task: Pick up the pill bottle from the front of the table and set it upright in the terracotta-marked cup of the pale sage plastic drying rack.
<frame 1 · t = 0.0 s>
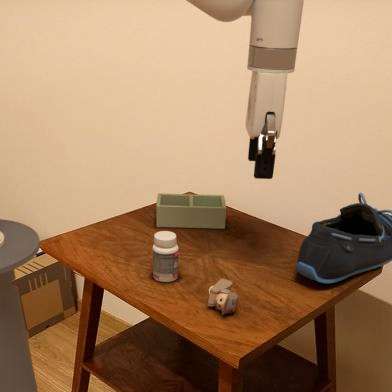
hand: (259, 169, 91), 19 cm above the table, tool pointing down, fingers open, 9 cm apart
toy character: (204, 292, 88), point 2 cm above the table
rack: (190, 220, 118), on the table
pill bottle: (165, 277, 97), on the table
moccasin: (347, 259, 105), on the table
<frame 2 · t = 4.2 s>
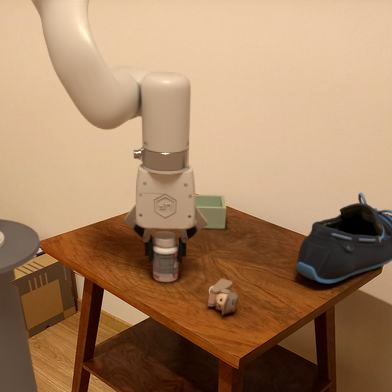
hand: (165, 258, 94), 4 cm above the table, tool pointing down, fingers closed on pill bottle, 4 cm apart
pill bottle: (165, 277, 97), on the table, touching gripper
everything else where it was.
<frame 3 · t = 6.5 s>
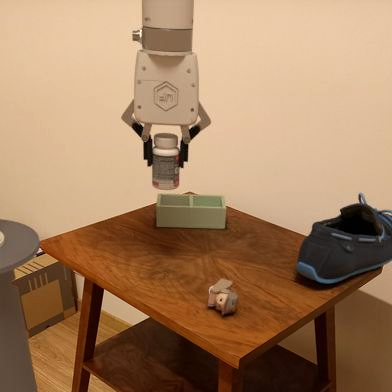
hand: (165, 163, 87), 20 cm above the table, tool pointing down, fingers closed on pill bottle, 4 cm apart
pill bottle: (165, 187, 90), point 16 cm above the table, touching gripper
everything else where it was.
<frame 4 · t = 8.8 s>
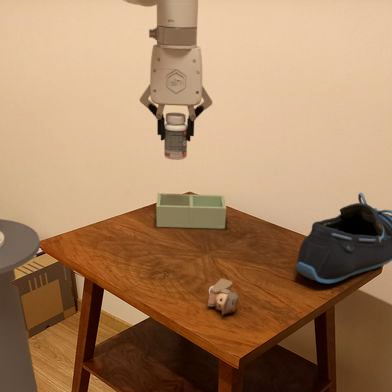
hand: (175, 138, 107), 18 cm above the table, tool pointing down, fingers closed on pill bottle, 4 cm apart
pill bottle: (175, 157, 109), point 14 cm above the table, touching gripper
everything else where it was.
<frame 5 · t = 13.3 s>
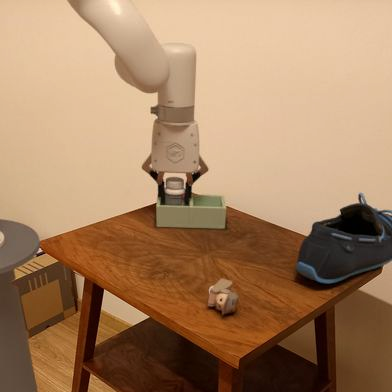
hand: (174, 199, 115), 5 cm above the table, tool pointing down, fingers closed on pill bottle, 4 cm apart
pill bottle: (174, 216, 118), point 1 cm above the table, touching gripper
everything else where it was.
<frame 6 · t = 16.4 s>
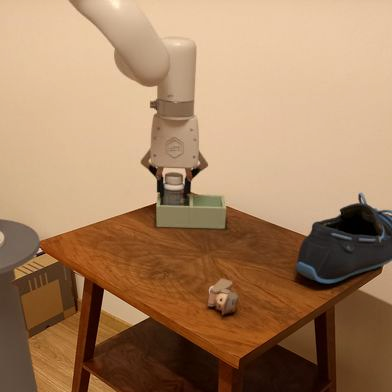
hand: (173, 195, 115), 6 cm above the table, tool pointing down, fingers closed on pill bottle, 4 cm apart
pill bottle: (173, 212, 117), point 2 cm above the table, touching gripper
everything else where it was.
when the fingers open (6 cm above the table, at t = 19.1 s): pill bottle drops 1 cm, resting on rack.
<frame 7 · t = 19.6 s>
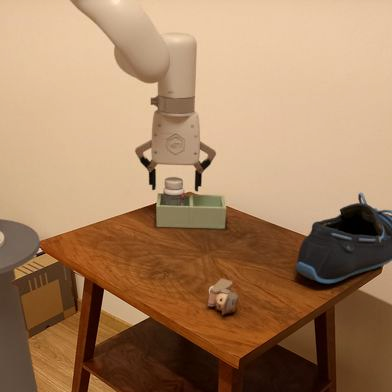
hand: (175, 188, 114), 7 cm above the table, tool pointing down, fingers open, 9 cm apart
pill bottle: (173, 217, 118), point 1 cm above the table, touching rack
everything else where it was.
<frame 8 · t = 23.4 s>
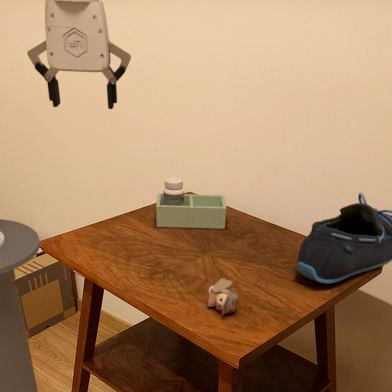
hand: (84, 106, 92), 26 cm above the table, tool pointing down, fingers open, 9 cm apart
nothing on the table moved.
at the end: pill bottle 0.3 cm from the target spot in the rack, point 0.8 cm above the rack's base; pill bottle tilted 0° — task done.
